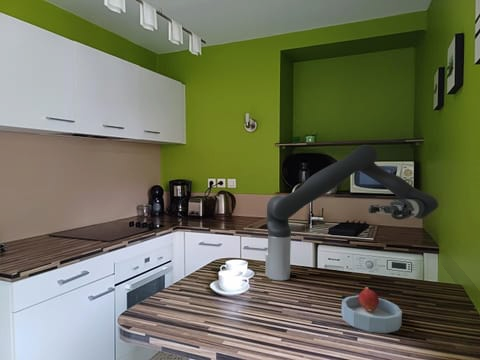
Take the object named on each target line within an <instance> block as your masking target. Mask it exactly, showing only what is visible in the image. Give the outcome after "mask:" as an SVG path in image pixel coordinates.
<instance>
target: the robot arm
mask: <svg viewBox="0 0 480 360" xmlns="http://www.w3.org/2000/svg"><path fill="white" fill-rule="evenodd" d="M377 158H378V150H377V149H376V147H374V146H373V145H371V144H362V145H359V146H358V147H356V149H355V150H353V151H352V152H350V153H349V154H348V155H347V156H345V157H343V158H342V159H340V160H338V161H336V162H334V163H331V164H330V165H328V166H326V167H324V168H323V169H321V170H319V171H317V172H316V173H314V174H313V175H311V176H310V177H309V178H307V179H306V181H304V182H303V184H301V186H299V188H297V189H295V190H294V191H292V192H290V193H288V194H286V195H284V196H281V195H275V196H273V197H271V198H270V199H269V201H268V202H267V204H266V206H267V207H266V226H267V227H266V228H267V233H268V234H267V236H268V237H267V252H266V253H265V271H264V273H265V275H264V276H265V277H267V278H268V279H270V280H274V281H287V280H289V279H291V277H290V276H291V250H292V249H291V247H292V246H291V245H292V244H291V242H292V240H291V239H292V230H291V227H290V224H289V218H291V217H292V216H294V215H295V214H296V213H297V212H299V211H300V210H301V209H303V208H304V207H305V206H307V205H308V204H310V203H312V202H313V201H316V200H317V199H319V198H321V197H322V196H324V195H326V194H328V193H329V192H331V191H333V190H334V189H335V188H338V186H339V185H340V184H342V183H344V181H345V180H347V179H348V178H349V177H351V176H352V175H353V174H355V173H356V172H358V171H359V172H360V173H362V174H364V175H366V176H367V177H369V178H370V179H372V180H374V181H376V182H377V183H378V184H380V185H381V186H383V187H384V188H386V189H387V190H388V191H390V193H392V194H394V195H395V197H397V199H394V200H392V201H391V202H390V203H388V204H375V205H374V204H371V205H369V207H368V212H369V214H380V215H386V216H387V215H388V216H391V217H392V218H393V219H395V220H399V221H401V220H406V219H411V218H412V219H413V218H416V219H419V220H422V219H425V218H426V217H427V216H429V215H430V214H432V212H434V211H436V210H437V208H438V207H439V201H438V200H437V199H436V197H434V196H433V195H430V194H429V193H426V192H423V191H422V190H420V189H417V188H416V187H414V186H412V185H411V183H409V182H407V180H405V179H404V178H402V177H401V176H399V175H396V174H394V173H392V172H389V171H388V170H385V169H383V168H382V167H381V166H379V165H377V163H376V160H377Z"/></svg>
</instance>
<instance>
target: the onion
mask: <svg viewBox="0 0 480 360" xmlns="http://www.w3.org/2000/svg"><path fill="white" fill-rule="evenodd" d="M358 295H359V303H360V305H361V306H362V307H363V308H364V309H366V310H368V311H373V310H375V309H376V308H377V307H378V305H379V299H378V298H379V296H378V295H377V293H376V292H375V291H373V290H371V289H369V287H368V286H365V287H364V289H363V290H361V292H359V294H358Z"/></svg>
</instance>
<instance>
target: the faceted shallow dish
mask: <svg viewBox="0 0 480 360" xmlns="http://www.w3.org/2000/svg"><path fill="white" fill-rule="evenodd" d="M378 299H379V305H378V307H377V308H376V309H375V310H373V311H368V310H366V309H364V308H363V307H362V306H361V305H360V303H359V294H357V295H352V296H351V295H350V296H346V297H345V298H343V299H342V301H341V317H342V319H343V321H344V322H345V323H347V324H348V325H351V326H352V327H354V328H356V329H360V330H363V331H366V332H370V333H379V334H389V333H393V332H396V331H399V329H400V328H401V326H402V317H403V311H402V310H401V308H400V307H399V306H398V305H397V304H396V303H393V302H392V301H389V300H387V299H384V298H379V297H378Z"/></svg>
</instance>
